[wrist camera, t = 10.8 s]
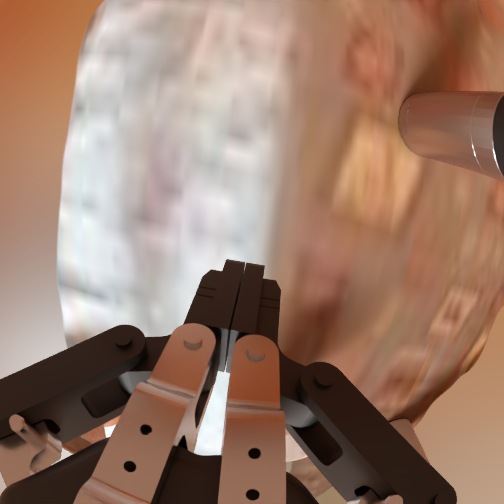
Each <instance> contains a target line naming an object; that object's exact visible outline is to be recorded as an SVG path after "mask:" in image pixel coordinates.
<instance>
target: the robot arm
mask: <svg viewBox="0 0 504 504" xmlns="http://www.w3.org/2000/svg"><path fill="white" fill-rule="evenodd" d="M399 129H400V133H401V136H402V138H403V140H404V142H405V144H406V145H407V147H408V148H409V149H410V150H411V151H412V152H413V153H415V154H417V155H419V156H423V157H427V158H430V159H434V160H437V161H441V162H445V163H448V164H452V165H455V166H458V167H462V168H465V169H468V170H471V171H475V172H478V173H481V174H484V175H487V176H489V177H493V178H496V179H498V180H501V181H504V92H498V91H455V92H431V93H419V94H414V95H411V96H410V97H408V98H407V99H406V100H405V102H404V103H403V105H402V107H401V109H400V113H399ZM264 267H265V266H264V265H258V264H252V263H246V266H245V262H240V261H234V260H228V259H227V260H226V262H225V265H224V268H223V271H217V270H210V271H209V272H208V273H206V274H205V275H204V276H203V277H202V279H201V282H200V284H199V288H198V289H197V292H196V295H195V297H194V299H193V302H192V304H191V306H190V309H189V312H188V314H187V317H186V319H185V322H184V324H183V325H181V326H179V327H178V328H176V329H175V330H174V331H173V333H172V334H171V335H168V336H163V337H145V336H144V334H143V333H142V331H141V330H140V329H138V328H136V327H134V326H131V325H119V326H116V327H113V328H111V329H109V330H107V331H105V332H103V333H101V334H98V335H96V336H94V337H92V338H90V339H88V340H85V341H83V342H81V343H79V344H77V345H75V346H72V347H70V348H68V349H66V350H64V351H62V352H60V353H57V354H55V355H53V356H51V357H49V358H47V359H44V360H42V361H40V362H38V363H35V364H33V365H31V366H29V367H27V368H24V369H22V370H20V371H18V372H16V373H13V374H11V375H9V376H7V377H5V378H3V379H0V472H1V474H2V477H3V479H4V482H5V484H6V486H7V488H6V489H5V490H4V491H3V492H2V494H1V496H0V504H319V503H318V502H317V501H316V500H315V498H314V497H313V496H312V494H311V493H310V492H309V491H308V489H307V488H306V487H305V486H304V485H303V484H302V483H301V482H300V481H299V480H298V479H297V478H296V477H294V476H293V475H291V474H290V473H288V472H286V435H285V429H286V430H287V431H288V432H289V434H290V435H291V436H292V437H293V439H294V440H295V441H296V443H297V444H298V445H299V446H300V448H301V449H302V450H303V451H304V453H305V454H306V455H307V456H308V457H309V459H310V460H311V461H312V462H313V463H314V465H315V466H316V467H317V468H318V469H319V471H320V472H321V473H322V474H323V475H324V477H325V478H326V479H327V480H328V481H329V482H330V483H331V485H332V486H333V487H334V488H335V489H336V490H337V491H338V492H339V494H340V495H341V496H342V497H343V498H344V499H345V500H346V501H347V504H456V503H457V496H456V492H455V490H454V488H453V487H452V486H451V485H450V484H449V483H448V482H447V481H446V480H445V479H444V478H443V477H442V476H441V475H440V474H439V473H438V472H437V471H436V470H435V469H434V468H433V467H432V466H431V465H430V464H429V463H428V462H427V461H426V460H425V459H424V458H423V457H422V456H421V455H420V454H419V453H418V452H417V451H416V450H415V449H414V447H413V446H412V445H411V444H410V443H409V442H408V441H407V440H406V439H405V438H404V437H403V436H402V435H401V434H400V433H399V432H398V431H397V430H396V429H395V428H394V427H393V426H392V425H391V424H390V423H389V422H388V421H387V420H386V419H385V417H384V416H383V415H382V414H381V413H380V412H379V411H378V410H377V409H376V408H375V407H374V406H373V405H372V404H371V403H370V402H369V401H368V400H367V399H366V398H365V397H364V395H363V394H362V393H361V392H360V391H359V390H358V389H357V388H356V387H355V386H354V385H353V384H352V383H351V382H350V381H349V380H348V379H347V377H346V376H345V375H344V374H343V373H342V372H341V371H340V370H339V369H338V368H337V367H335V366H333V365H331V364H329V363H325V362H315V363H311V364H309V365H308V366H303V365H301V364H299V363H296V362H294V361H292V360H290V359H288V358H287V357H286V356H285V355H284V354H283V353H282V352H281V350H280V349H279V346H278V326H279V311H280V310H279V309H280V296H281V289H280V288H279V286H278V284H277V282H276V281H275V280H269V279H263V275H264ZM244 268H245V271H244ZM227 357H228V359H227ZM226 361H227V368H226V372H228V373H230V378H229V386H228V393H227V402H226V411H225V421H224V430H223V440H222V448H221V455H212V456H201V455H197V454H195V453H194V450H195V446H196V442H197V436H198V432H199V429H200V426H201V423H202V420H203V417H204V414H205V411H206V408H207V405H208V402H209V399H210V396H211V393H212V390H213V386H214V384H215V380H216V376H217V372H218V371H222V372H224V370H225V366H226ZM120 415H121V416H120ZM118 416H120V418H119V420H118V422H117V424H116V426H115V428H114V431H113V433H112V435H111V437H108V438H105V439H102V440H99V441H97V442H95V443H93V444H91V445H89V446H88V447H86V448H84V449H82V450H80V451H78V452H77V453H75V454H73V455H71V456H69V457H67V458H65V459H63V460H61V461H59V462H57V463H55V462H56V461H58V460H59V459H60V458H61V452H62V444H64V443H66V442H69V441H71V440H73V439H75V438H77V437H79V436H81V435H83V434H85V433H87V432H89V431H91V430H93V429H95V428H97V427H99V426H101V425H103V424H105V423H107V422H109V421H110V420H112V419H114V418H116V417H118ZM53 463H55V464H54V465H52V464H53Z"/></svg>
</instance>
